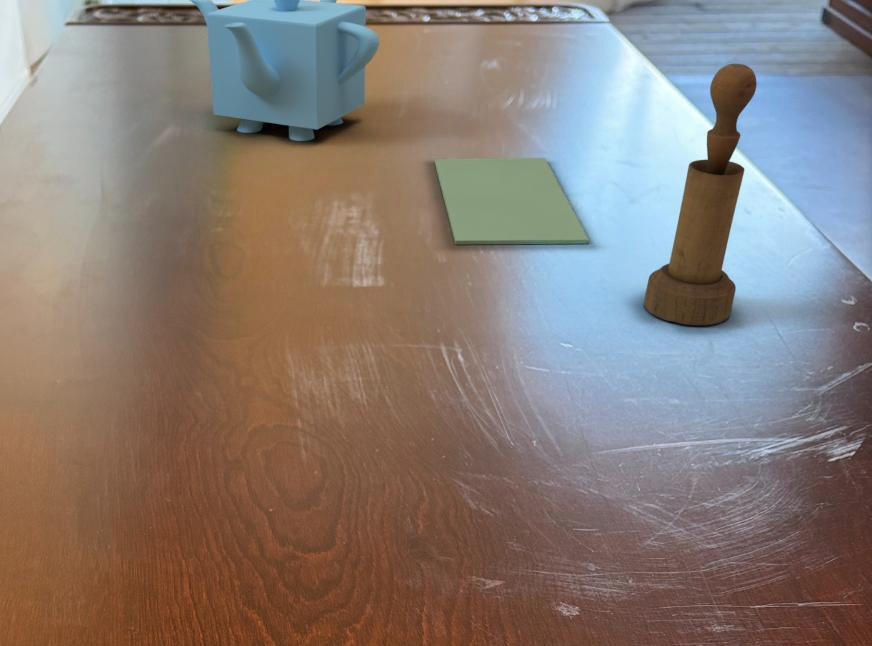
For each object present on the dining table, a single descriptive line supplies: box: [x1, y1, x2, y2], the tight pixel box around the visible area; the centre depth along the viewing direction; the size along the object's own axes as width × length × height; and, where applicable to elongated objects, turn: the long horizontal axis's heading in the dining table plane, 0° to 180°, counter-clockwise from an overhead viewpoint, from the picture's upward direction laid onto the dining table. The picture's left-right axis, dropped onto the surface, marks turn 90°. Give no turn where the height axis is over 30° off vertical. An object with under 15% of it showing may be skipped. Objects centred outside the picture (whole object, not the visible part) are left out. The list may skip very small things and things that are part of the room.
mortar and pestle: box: [643, 63, 758, 326], centre depth 77 cm, size 7×6×18 cm
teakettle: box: [189, 0, 380, 142], centre depth 120 cm, size 19×19×15 cm
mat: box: [433, 157, 590, 246], centre depth 103 cm, size 12×24×1 cm, turn 0°
